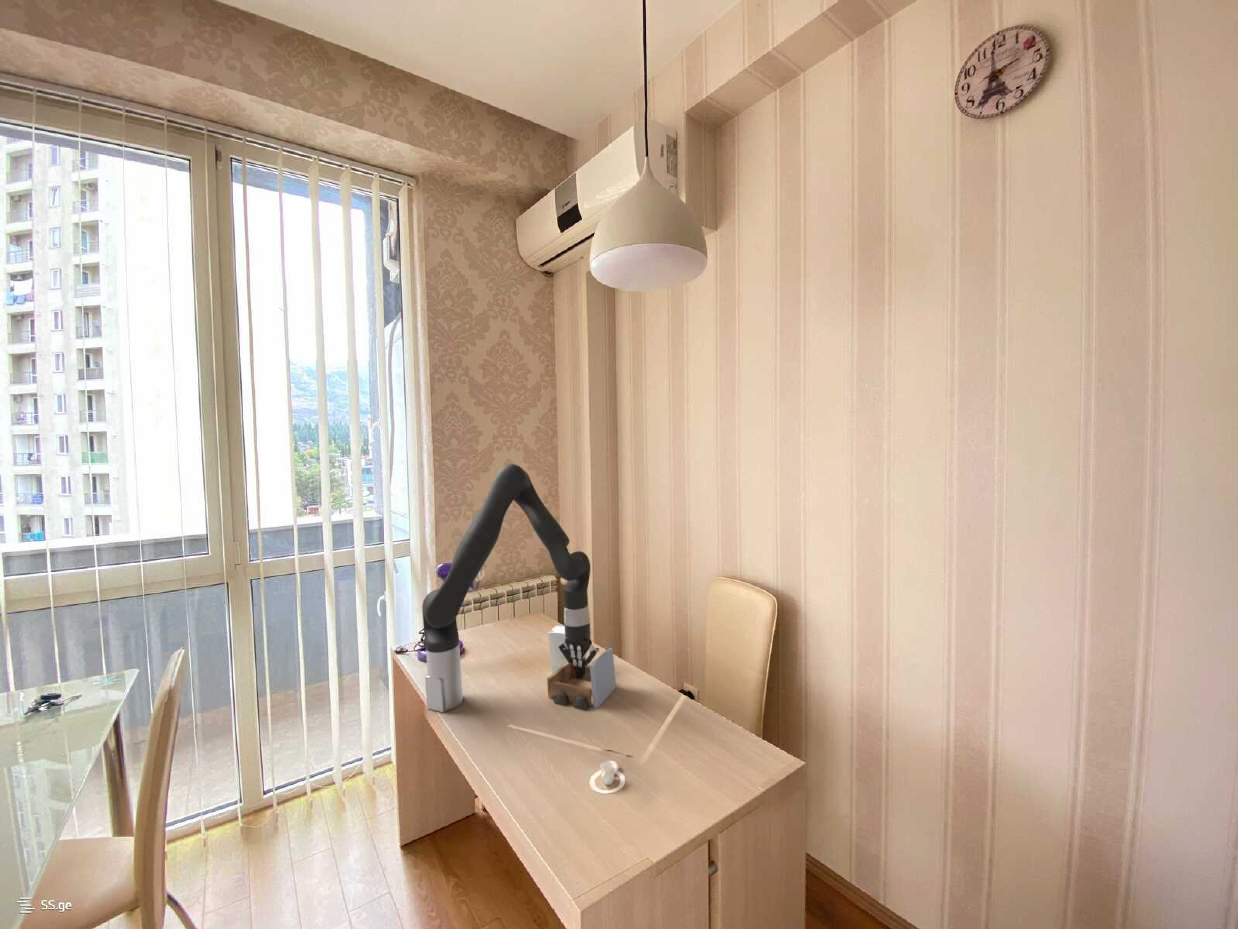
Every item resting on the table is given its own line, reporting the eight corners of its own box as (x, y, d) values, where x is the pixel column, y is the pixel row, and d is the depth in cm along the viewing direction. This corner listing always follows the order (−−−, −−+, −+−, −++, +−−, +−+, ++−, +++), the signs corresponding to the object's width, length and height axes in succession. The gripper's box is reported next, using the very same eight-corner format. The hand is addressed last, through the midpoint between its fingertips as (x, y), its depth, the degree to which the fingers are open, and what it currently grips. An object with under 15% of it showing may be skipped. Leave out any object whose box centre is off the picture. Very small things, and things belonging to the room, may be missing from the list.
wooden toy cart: (587, 714, 140) (586, 690, 139) (545, 704, 146) (543, 681, 145) (613, 686, 155) (612, 664, 154) (574, 678, 161) (572, 656, 160)
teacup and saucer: (608, 764, 119) (607, 748, 119) (634, 778, 114) (634, 761, 114) (582, 785, 113) (581, 768, 112) (609, 801, 107) (608, 783, 107)
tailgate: (597, 708, 141) (593, 666, 140) (593, 707, 141) (589, 665, 141) (616, 687, 152) (612, 648, 151) (612, 687, 152) (608, 648, 152)
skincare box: (581, 671, 165) (579, 627, 164) (573, 680, 160) (570, 634, 158) (559, 667, 168) (557, 624, 167) (550, 676, 163) (547, 631, 162)
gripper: (551, 622, 148) (554, 679, 150) (590, 628, 143) (594, 687, 144) (564, 613, 155) (567, 668, 157) (602, 618, 150) (605, 675, 151)
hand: (580, 677), depth 150 cm, fingers closed
